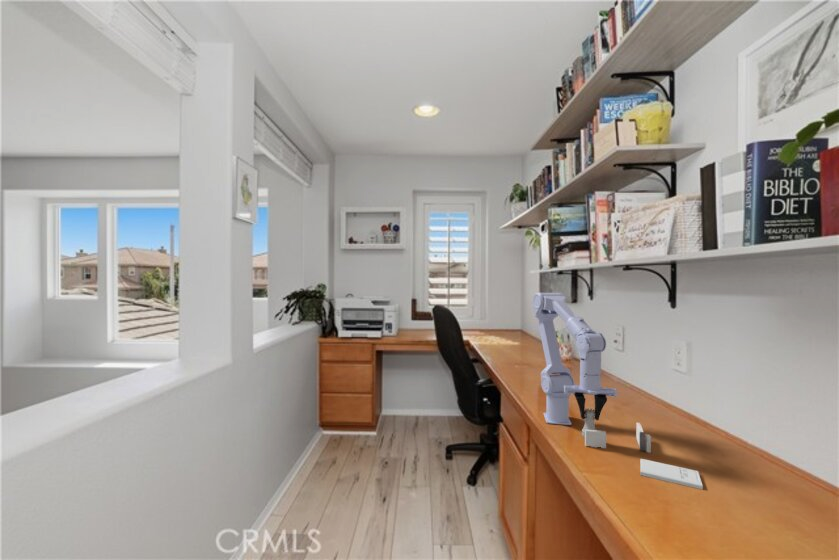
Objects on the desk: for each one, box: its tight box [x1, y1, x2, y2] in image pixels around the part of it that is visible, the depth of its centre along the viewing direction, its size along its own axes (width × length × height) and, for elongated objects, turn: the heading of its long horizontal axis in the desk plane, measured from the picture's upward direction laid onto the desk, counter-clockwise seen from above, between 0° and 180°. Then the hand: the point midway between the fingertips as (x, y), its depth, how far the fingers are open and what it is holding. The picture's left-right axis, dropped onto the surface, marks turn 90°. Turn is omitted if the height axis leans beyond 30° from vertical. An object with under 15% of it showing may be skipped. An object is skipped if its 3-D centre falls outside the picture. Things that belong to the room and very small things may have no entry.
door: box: [635, 422, 646, 452], centre depth 111 cm, size 1×10×5 cm, turn 156°
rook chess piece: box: [581, 408, 597, 438], centre depth 114 cm, size 4×4×8 cm
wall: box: [584, 429, 652, 454], centre depth 109 cm, size 1×17×4 cm, turn 78°
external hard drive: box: [639, 458, 703, 490], centre depth 94 cm, size 2×8×12 cm
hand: (589, 418), depth 114 cm, fingers closed on rook chess piece, 3 cm apart
